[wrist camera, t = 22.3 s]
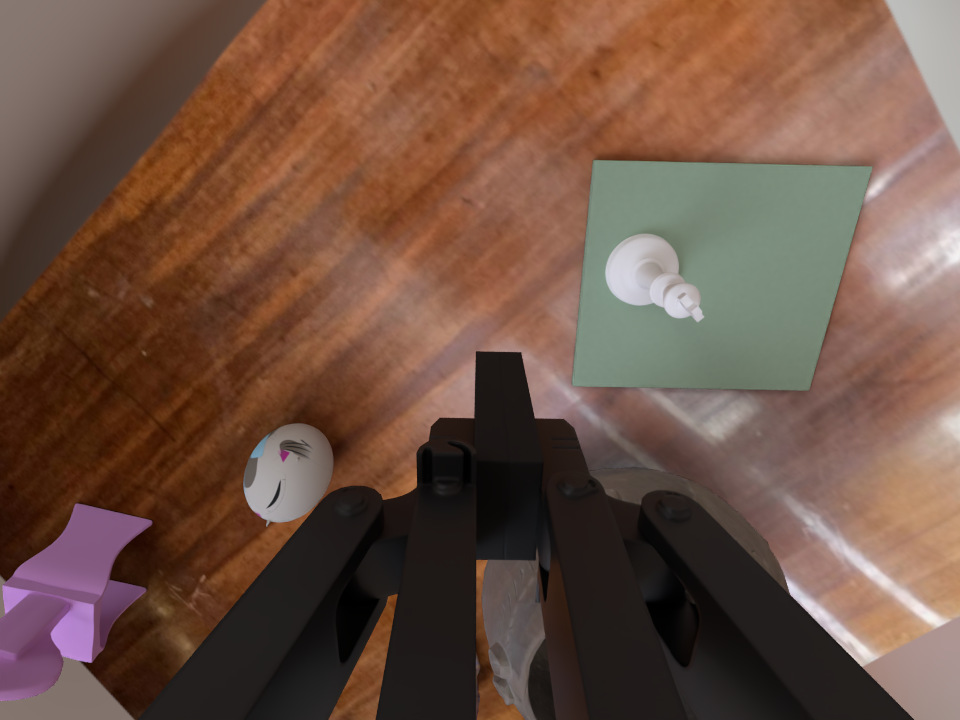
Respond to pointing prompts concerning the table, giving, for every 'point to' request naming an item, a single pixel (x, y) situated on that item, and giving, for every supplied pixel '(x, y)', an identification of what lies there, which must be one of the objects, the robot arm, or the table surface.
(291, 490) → the figurine
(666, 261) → the chess piece
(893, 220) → the table surface
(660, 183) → the mat
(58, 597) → the toy chair
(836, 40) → the table surface
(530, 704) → the clay pot
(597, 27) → the table surface
